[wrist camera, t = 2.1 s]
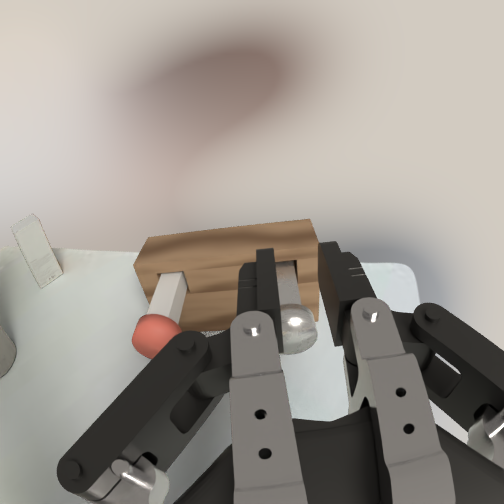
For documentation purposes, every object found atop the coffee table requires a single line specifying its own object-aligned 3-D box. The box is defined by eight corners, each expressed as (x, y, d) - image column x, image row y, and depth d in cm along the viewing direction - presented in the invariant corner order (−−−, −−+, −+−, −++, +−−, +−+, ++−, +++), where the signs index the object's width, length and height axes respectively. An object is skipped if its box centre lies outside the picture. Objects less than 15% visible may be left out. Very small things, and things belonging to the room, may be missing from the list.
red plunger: (184, 360, 26) (169, 329, 23) (142, 360, 26) (124, 330, 24) (200, 280, 36) (192, 250, 33) (166, 283, 36) (156, 254, 34)
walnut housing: (318, 321, 35) (320, 245, 29) (162, 333, 37) (133, 265, 31) (310, 290, 40) (310, 218, 34) (171, 302, 42) (148, 237, 36)
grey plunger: (316, 351, 25) (318, 317, 22) (267, 356, 25) (262, 323, 23) (300, 271, 35) (298, 239, 33) (263, 274, 35) (259, 243, 33)
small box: (64, 273, 52) (39, 218, 45) (41, 289, 48) (13, 234, 41) (54, 262, 57) (32, 212, 50) (33, 276, 53) (9, 226, 46)
